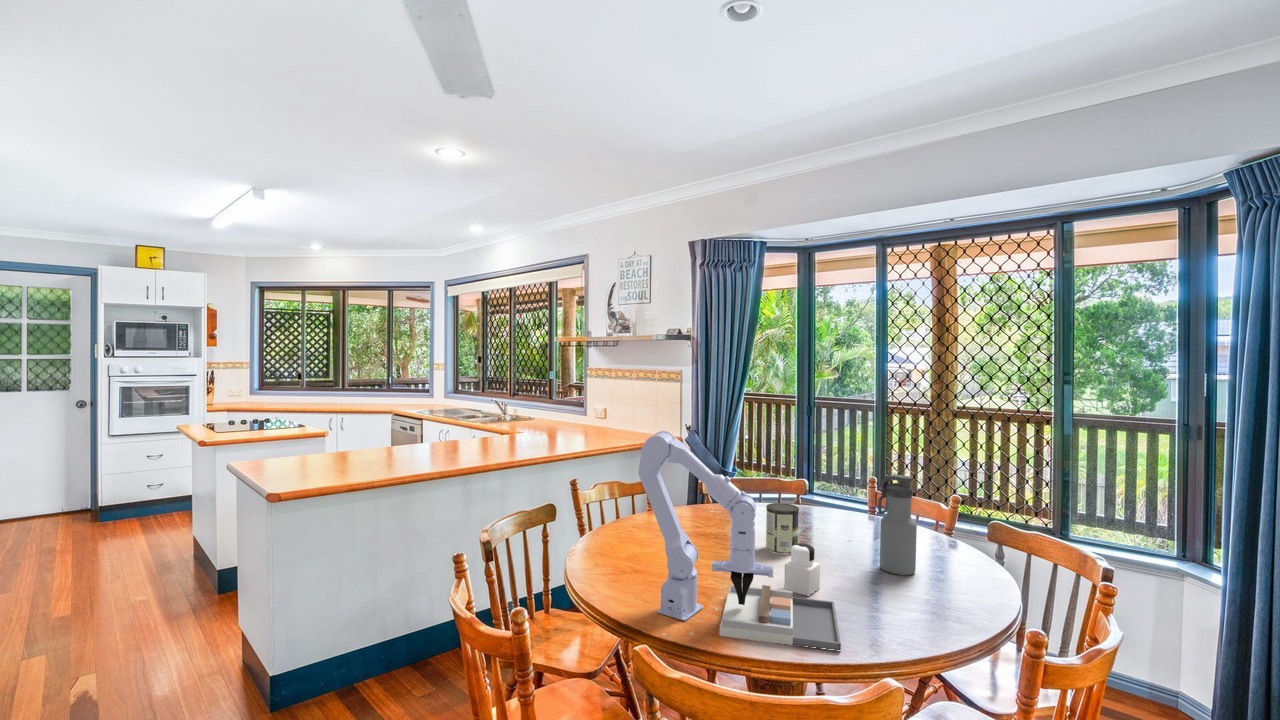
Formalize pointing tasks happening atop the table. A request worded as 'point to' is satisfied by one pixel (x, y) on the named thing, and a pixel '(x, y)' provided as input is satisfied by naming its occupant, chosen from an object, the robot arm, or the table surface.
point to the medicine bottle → (802, 570)
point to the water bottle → (897, 526)
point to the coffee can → (781, 528)
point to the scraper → (764, 604)
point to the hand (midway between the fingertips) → (741, 602)
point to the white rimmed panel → (754, 618)
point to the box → (815, 624)
